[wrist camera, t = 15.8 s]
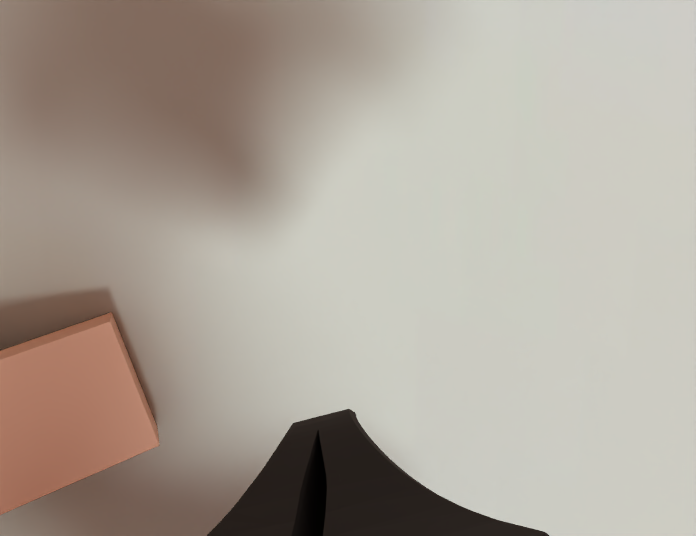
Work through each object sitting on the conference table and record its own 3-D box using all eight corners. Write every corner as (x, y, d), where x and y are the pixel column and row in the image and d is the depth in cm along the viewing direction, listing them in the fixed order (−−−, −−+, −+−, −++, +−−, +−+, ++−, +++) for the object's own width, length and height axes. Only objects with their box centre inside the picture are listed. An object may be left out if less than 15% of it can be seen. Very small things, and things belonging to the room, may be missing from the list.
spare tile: (109, 321, 19) (-163, 417, 16) (159, 445, 20) (-90, 553, 17) (111, 312, 20) (-137, 397, 18) (157, 426, 22) (-70, 523, 19)
